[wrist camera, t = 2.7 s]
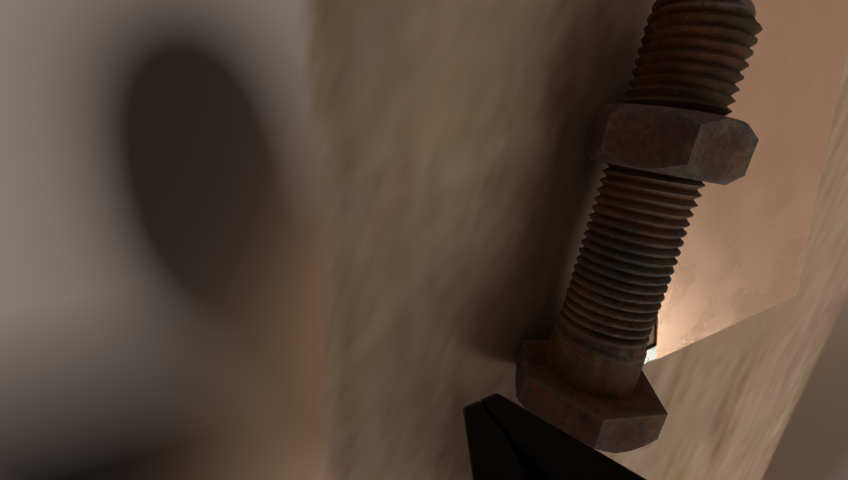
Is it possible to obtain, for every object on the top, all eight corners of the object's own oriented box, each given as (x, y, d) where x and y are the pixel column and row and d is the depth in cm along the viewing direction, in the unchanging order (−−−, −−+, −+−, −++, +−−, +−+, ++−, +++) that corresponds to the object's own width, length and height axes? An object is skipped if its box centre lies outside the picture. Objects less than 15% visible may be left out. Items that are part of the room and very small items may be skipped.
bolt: (633, 23, 16) (539, 352, 20) (590, -28, 13) (484, 390, 17) (827, 21, 13) (667, 419, 17) (848, -50, 9) (635, 486, 13)
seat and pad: (795, 294, 24) (797, 295, 24) (538, 411, 20) (539, 413, 20) (878, -118, 16) (881, -119, 16) (483, -48, 12) (484, -49, 12)
